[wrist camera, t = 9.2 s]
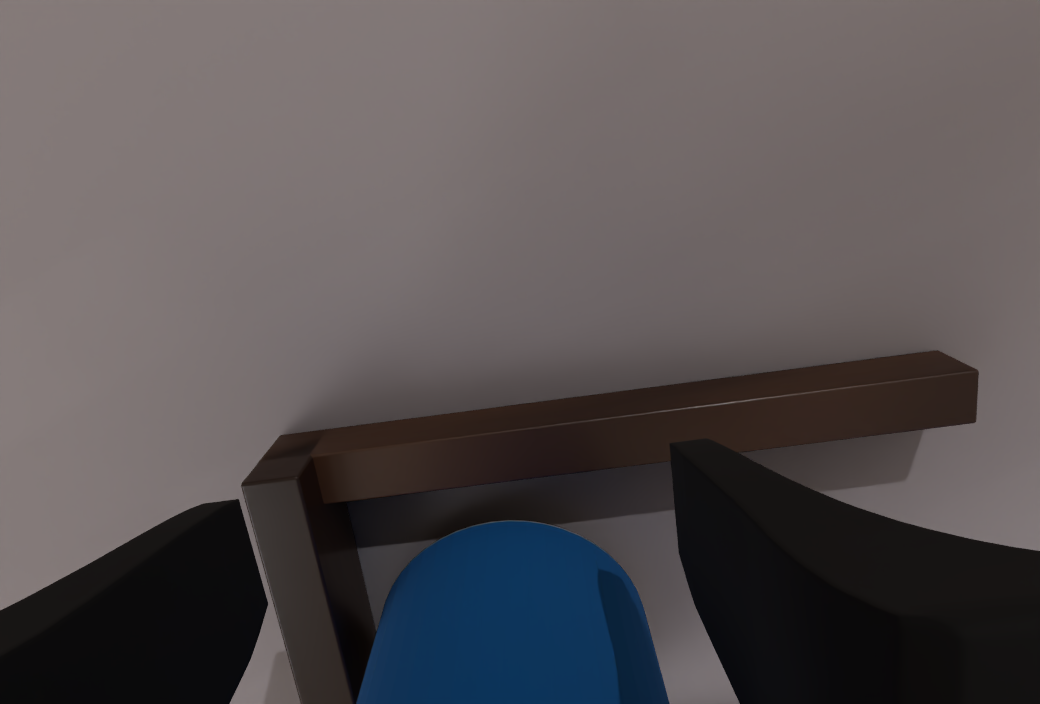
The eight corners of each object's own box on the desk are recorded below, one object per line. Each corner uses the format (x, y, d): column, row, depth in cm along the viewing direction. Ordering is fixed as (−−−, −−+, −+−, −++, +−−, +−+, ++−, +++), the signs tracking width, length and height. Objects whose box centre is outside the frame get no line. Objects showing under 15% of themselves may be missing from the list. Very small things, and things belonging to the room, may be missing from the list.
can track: (938, 349, 16) (1012, 385, 14) (924, 748, 19) (983, 835, 17) (279, 434, 17) (239, 484, 14) (374, 809, 20) (354, 901, 17)
